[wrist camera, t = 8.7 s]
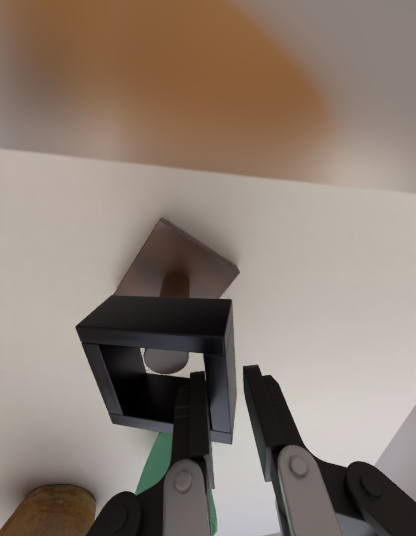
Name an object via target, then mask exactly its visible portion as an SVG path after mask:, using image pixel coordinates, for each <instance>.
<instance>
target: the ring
mask: <svg viewBox="0 0 416 536" xmlns="http://www.w3.org/2000/svg"><path fill="white" fill-rule="evenodd" d="M76 330H77V333H78V336H79V338H80V341H81V342H82V346H83V349H84V352H85V354H86V357H87V359H88V362H89V364H90V367H91V369H92V372H93V375H94V377H95V380H96V382H97V385H98V387H99V390H100V392H101V395H102V398H103V400H104V403H105V405H106V408H107V410H108V412H109V416H110V418H111V421H112V423H113V424H118V425H123V426H129V427H134V428H140V429H146V430H151V431H157V432H163V433H168V434H173V423H174V410H175V396H176V394H177V392H178V390H179V388H180V386H183V385H190V378H184V377H175V376H167V375H158V374H150V373H146V370H145V366H144V363H143V359H142V355H141V351H140V348H150V349H161V350H173V351H184V352H195V353H203V356H204V365H205V373H206V386H207V395H208V406H209V419H210V433H211V441H214V442H219V443H225V444H230V445H231V444H232V439H233V428H234V418H235V407H236V397H237V389H236V368H235V348H234V327H233V308H232V300H231V299H208V298H179V297H150V296H121V295H111V296H110V297H109V298H108V299H107V300H105V301H104V302H103V303H102V304H101V305H100V306H98V307H97V308H96V309H95V310H94V311H93V312H91V313H90V314H89V315H88V316H87V317H86V318H85V319H83V320H82V321H81V322H80V323H79V324H78V325H76Z"/></svg>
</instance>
